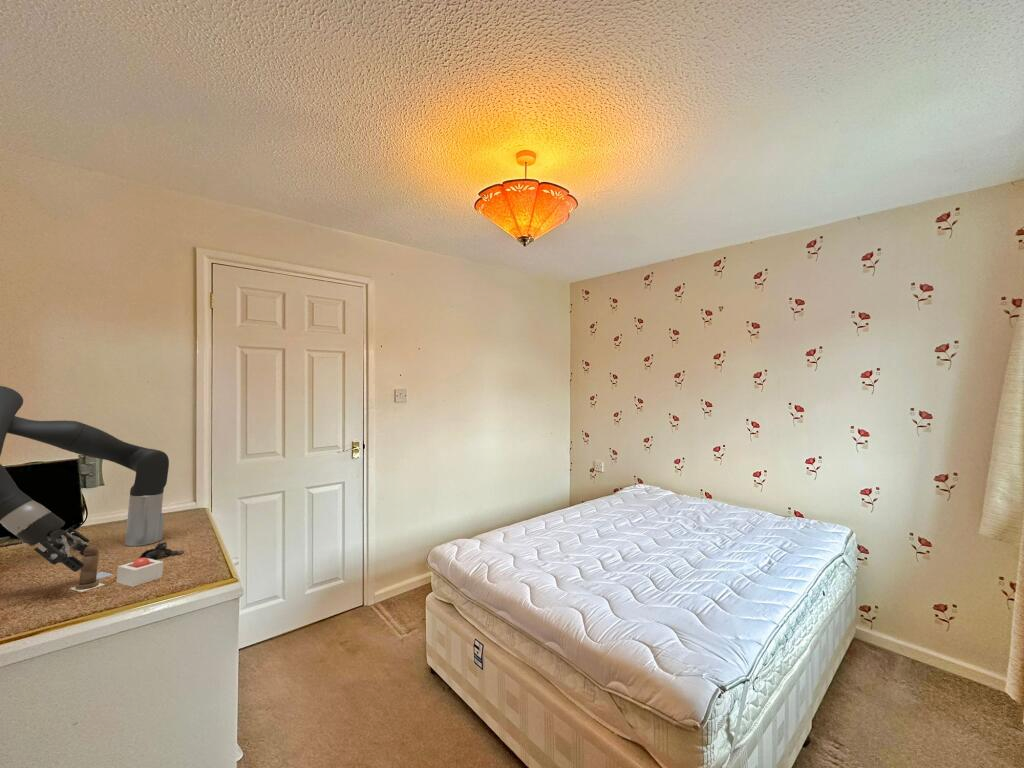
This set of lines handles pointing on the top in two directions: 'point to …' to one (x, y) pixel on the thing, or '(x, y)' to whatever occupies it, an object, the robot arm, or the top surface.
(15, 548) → the top surface
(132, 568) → the popper housing
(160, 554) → the stuffed animal
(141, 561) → the popper button
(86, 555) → the pawn
